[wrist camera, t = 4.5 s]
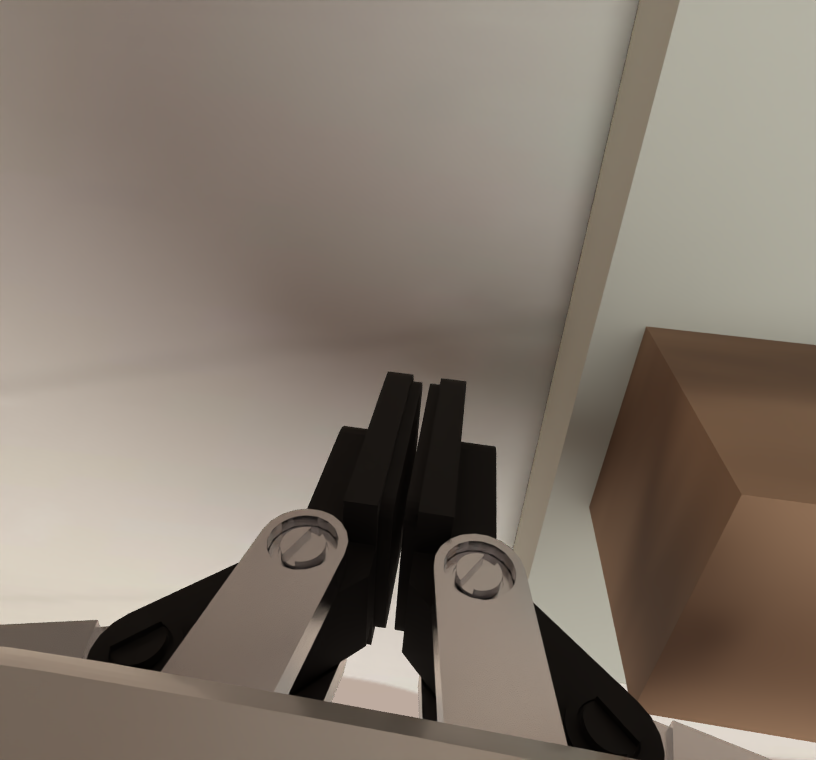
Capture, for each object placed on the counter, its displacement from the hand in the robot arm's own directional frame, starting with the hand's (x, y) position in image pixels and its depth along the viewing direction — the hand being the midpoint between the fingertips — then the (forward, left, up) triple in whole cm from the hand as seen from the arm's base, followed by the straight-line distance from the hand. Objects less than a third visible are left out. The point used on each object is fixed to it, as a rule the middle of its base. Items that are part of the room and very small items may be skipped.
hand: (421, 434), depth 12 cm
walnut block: (0, +7, -1) cm, 7 cm away
